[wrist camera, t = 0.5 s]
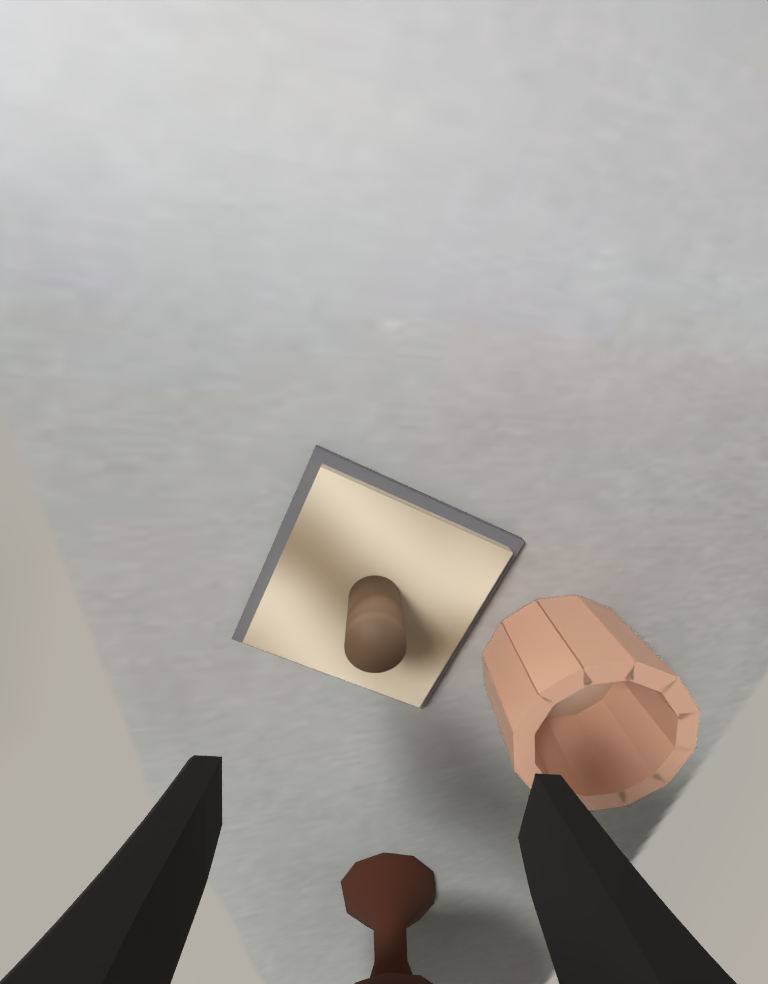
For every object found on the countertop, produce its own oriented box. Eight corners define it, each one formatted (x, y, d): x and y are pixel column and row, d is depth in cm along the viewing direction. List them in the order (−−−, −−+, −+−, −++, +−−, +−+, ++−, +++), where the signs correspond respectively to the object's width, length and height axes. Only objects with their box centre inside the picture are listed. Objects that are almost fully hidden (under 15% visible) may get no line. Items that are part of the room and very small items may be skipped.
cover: (322, 463, 17) (309, 490, 13) (508, 546, 18) (543, 592, 15) (246, 634, 19) (216, 698, 15) (418, 697, 20) (428, 771, 17)
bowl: (585, 568, 19) (647, 628, 15) (653, 672, 21) (727, 752, 17) (455, 650, 20) (478, 729, 16) (531, 742, 22) (570, 835, 18)
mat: (316, 445, 17) (315, 446, 17) (521, 537, 19) (524, 541, 18) (234, 633, 19) (231, 638, 19) (421, 702, 21) (422, 709, 21)
